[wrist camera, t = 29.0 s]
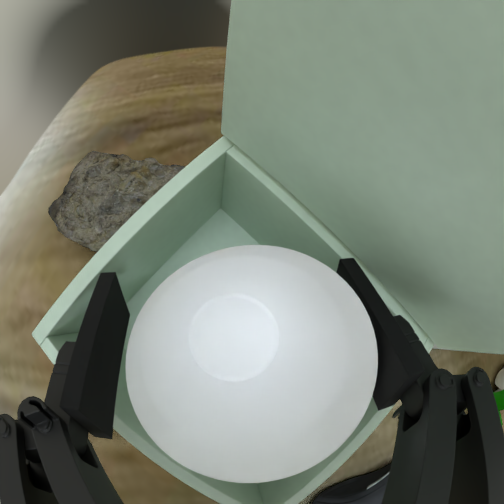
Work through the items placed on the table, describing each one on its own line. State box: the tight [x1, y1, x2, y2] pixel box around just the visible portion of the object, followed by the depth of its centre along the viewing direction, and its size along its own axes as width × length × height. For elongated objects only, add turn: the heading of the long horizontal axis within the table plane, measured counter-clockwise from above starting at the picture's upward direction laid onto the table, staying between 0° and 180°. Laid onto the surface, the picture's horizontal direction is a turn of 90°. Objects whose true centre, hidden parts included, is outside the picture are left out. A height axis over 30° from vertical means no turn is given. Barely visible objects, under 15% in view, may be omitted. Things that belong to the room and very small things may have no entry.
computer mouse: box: [312, 464, 391, 504], centre depth 18 cm, size 12×18×4 cm
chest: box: [32, 136, 435, 504], centre depth 16 cm, size 15×17×9 cm
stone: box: [48, 151, 185, 252], centre depth 20 cm, size 14×8×3 cm, turn 80°
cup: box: [125, 245, 378, 483], centre depth 14 cm, size 9×9×12 cm
